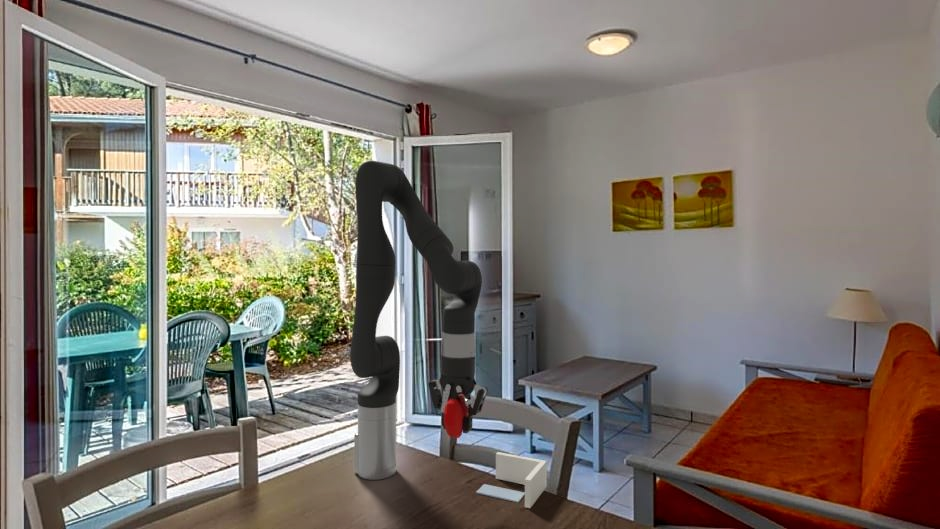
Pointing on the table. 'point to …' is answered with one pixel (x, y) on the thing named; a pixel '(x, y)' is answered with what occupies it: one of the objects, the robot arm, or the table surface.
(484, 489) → the pad
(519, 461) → the corner walls
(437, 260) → the robot arm
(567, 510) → the table surface
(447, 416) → the heart
